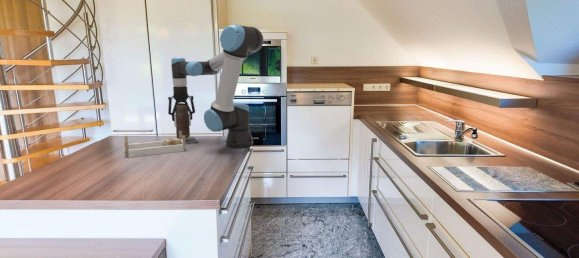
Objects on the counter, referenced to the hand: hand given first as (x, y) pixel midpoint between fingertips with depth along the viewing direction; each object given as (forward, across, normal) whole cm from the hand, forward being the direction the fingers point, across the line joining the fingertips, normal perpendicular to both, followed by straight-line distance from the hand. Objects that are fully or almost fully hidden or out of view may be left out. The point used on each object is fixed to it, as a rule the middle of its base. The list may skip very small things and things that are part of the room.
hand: (182, 125), depth 189 cm
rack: (+9, +16, +15) cm, 24 cm away
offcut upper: (+7, +8, +15) cm, 18 cm away
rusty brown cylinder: (+7, 0, 0) cm, 7 cm away
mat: (+9, 0, 0) cm, 9 cm away
